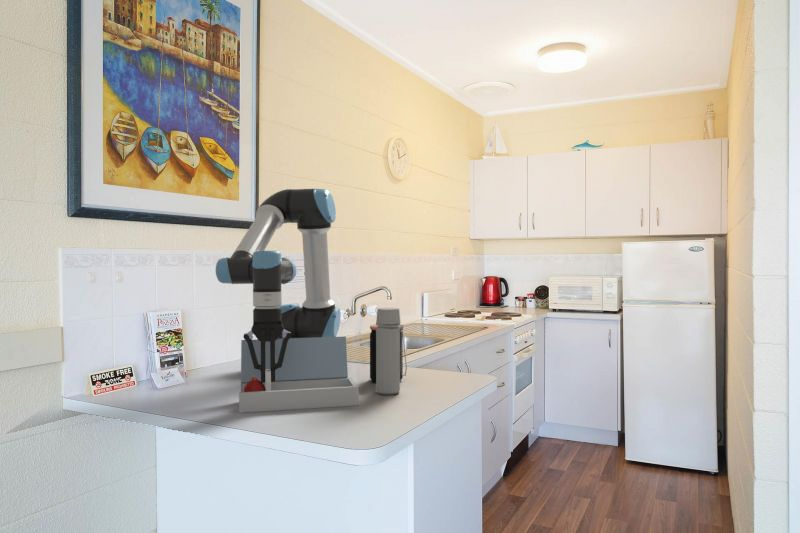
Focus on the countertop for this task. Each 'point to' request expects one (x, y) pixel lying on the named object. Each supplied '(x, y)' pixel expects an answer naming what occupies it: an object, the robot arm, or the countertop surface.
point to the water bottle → (388, 351)
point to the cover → (299, 359)
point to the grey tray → (301, 395)
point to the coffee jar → (373, 353)
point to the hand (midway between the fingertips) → (268, 394)
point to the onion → (254, 385)
